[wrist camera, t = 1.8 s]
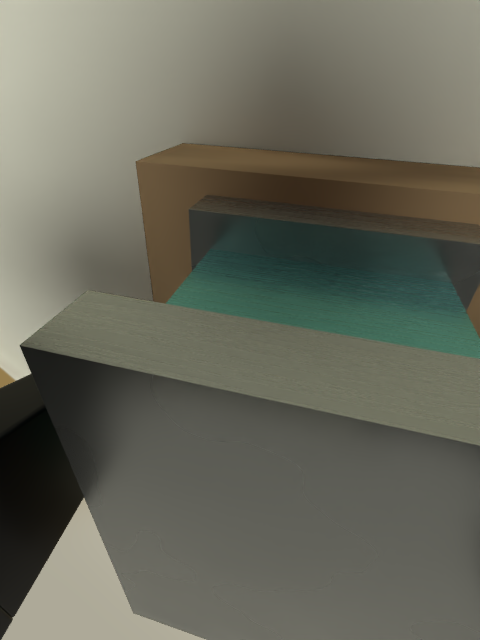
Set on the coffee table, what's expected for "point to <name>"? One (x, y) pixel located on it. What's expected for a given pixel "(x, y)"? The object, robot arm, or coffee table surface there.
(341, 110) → the coffee table surface
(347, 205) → the stand
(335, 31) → the coffee table surface
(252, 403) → the housing
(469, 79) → the coffee table surface
